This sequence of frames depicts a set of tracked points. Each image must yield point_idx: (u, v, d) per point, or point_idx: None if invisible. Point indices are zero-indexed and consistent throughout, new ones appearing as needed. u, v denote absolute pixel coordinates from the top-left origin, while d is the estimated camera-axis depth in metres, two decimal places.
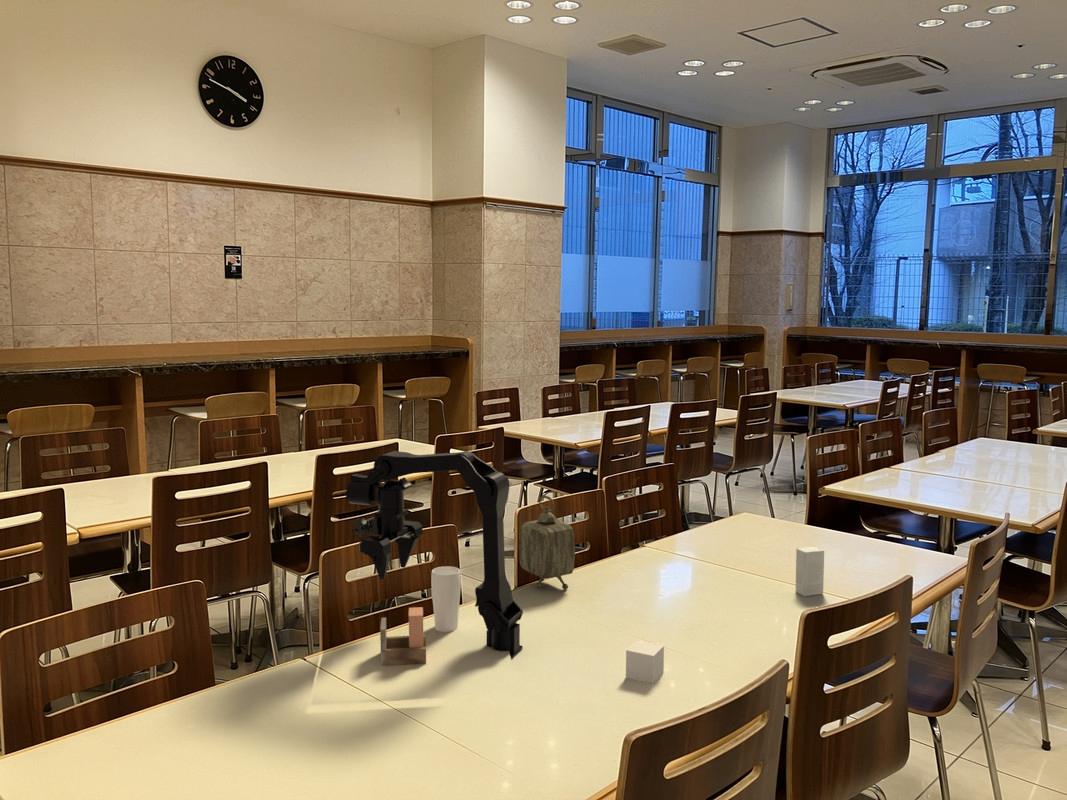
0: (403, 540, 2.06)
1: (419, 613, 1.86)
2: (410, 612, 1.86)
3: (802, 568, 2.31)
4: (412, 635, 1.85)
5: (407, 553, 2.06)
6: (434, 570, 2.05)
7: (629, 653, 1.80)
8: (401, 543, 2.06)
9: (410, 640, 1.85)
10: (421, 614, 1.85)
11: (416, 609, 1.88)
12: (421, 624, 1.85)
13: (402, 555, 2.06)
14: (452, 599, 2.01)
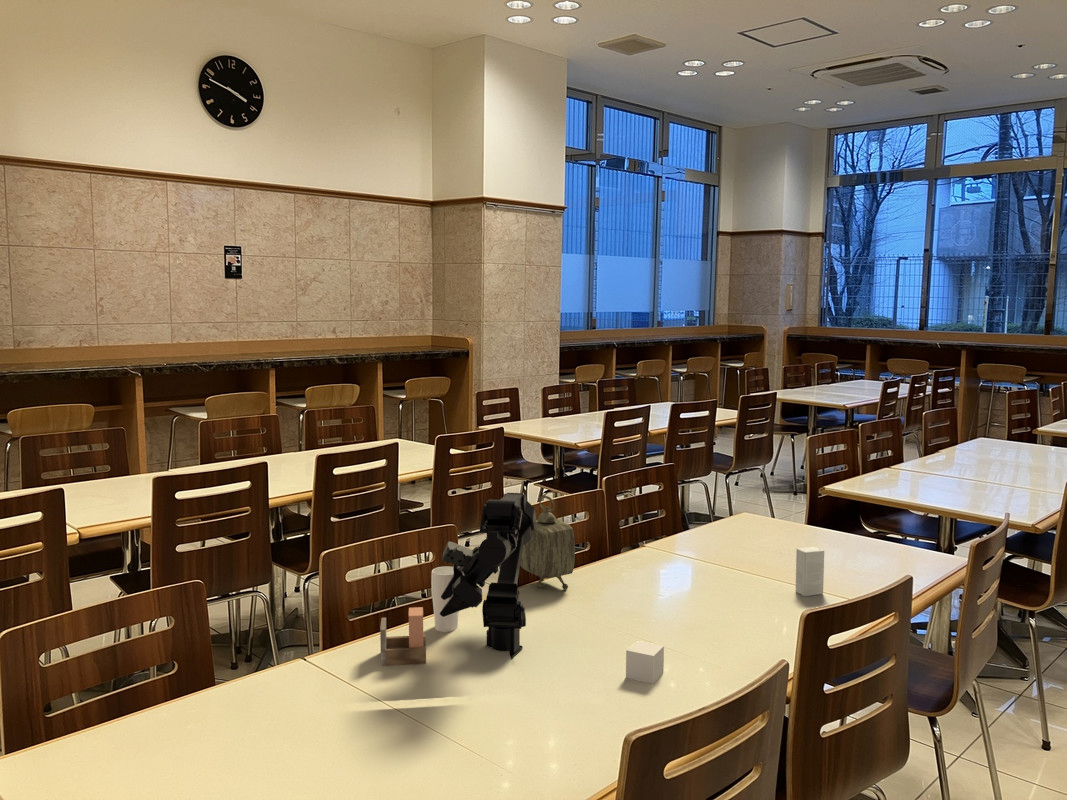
0: None
1: (419, 613, 1.86)
2: (410, 612, 1.86)
3: (802, 568, 2.31)
4: (412, 635, 1.85)
5: None
6: (434, 570, 2.05)
7: (629, 653, 1.80)
8: (458, 578, 1.93)
9: (410, 640, 1.85)
10: (421, 614, 1.85)
11: (416, 609, 1.88)
12: (421, 624, 1.85)
13: (450, 589, 1.93)
14: None
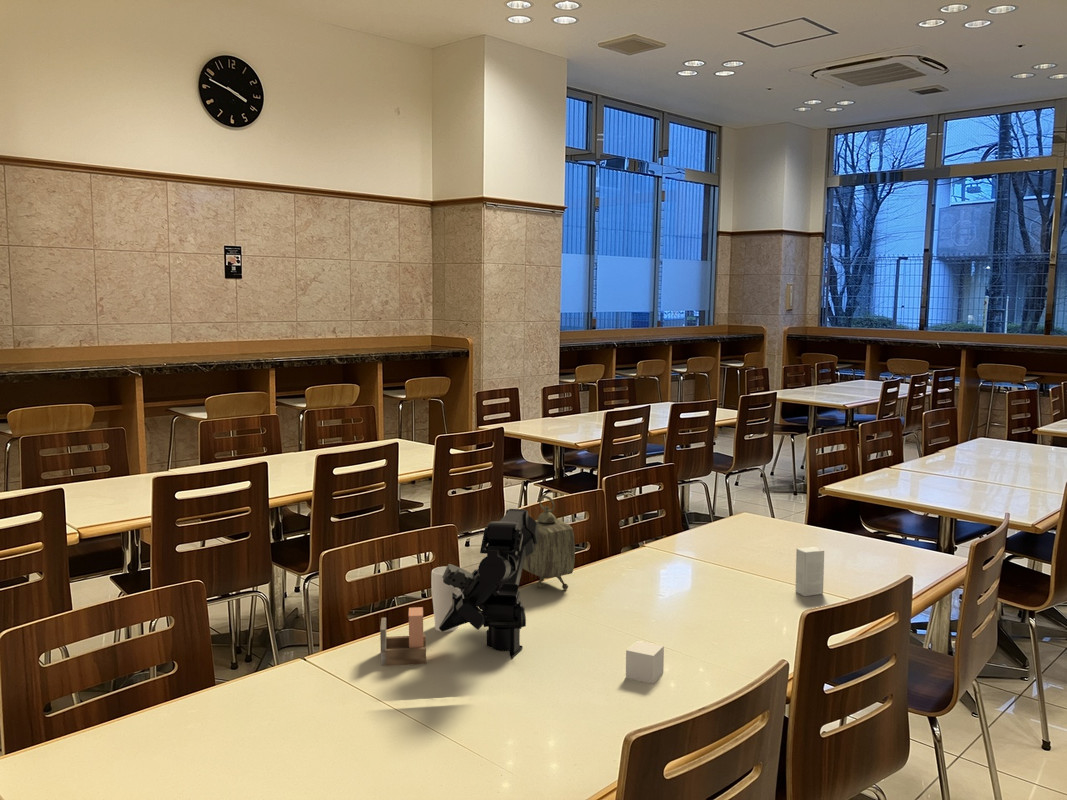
0: None
1: (419, 613, 1.86)
2: (410, 612, 1.86)
3: (802, 568, 2.31)
4: (412, 635, 1.85)
5: None
6: (434, 570, 2.05)
7: (629, 653, 1.80)
8: None
9: (410, 640, 1.85)
10: (421, 614, 1.85)
11: (416, 609, 1.88)
12: (421, 624, 1.85)
13: None
14: None
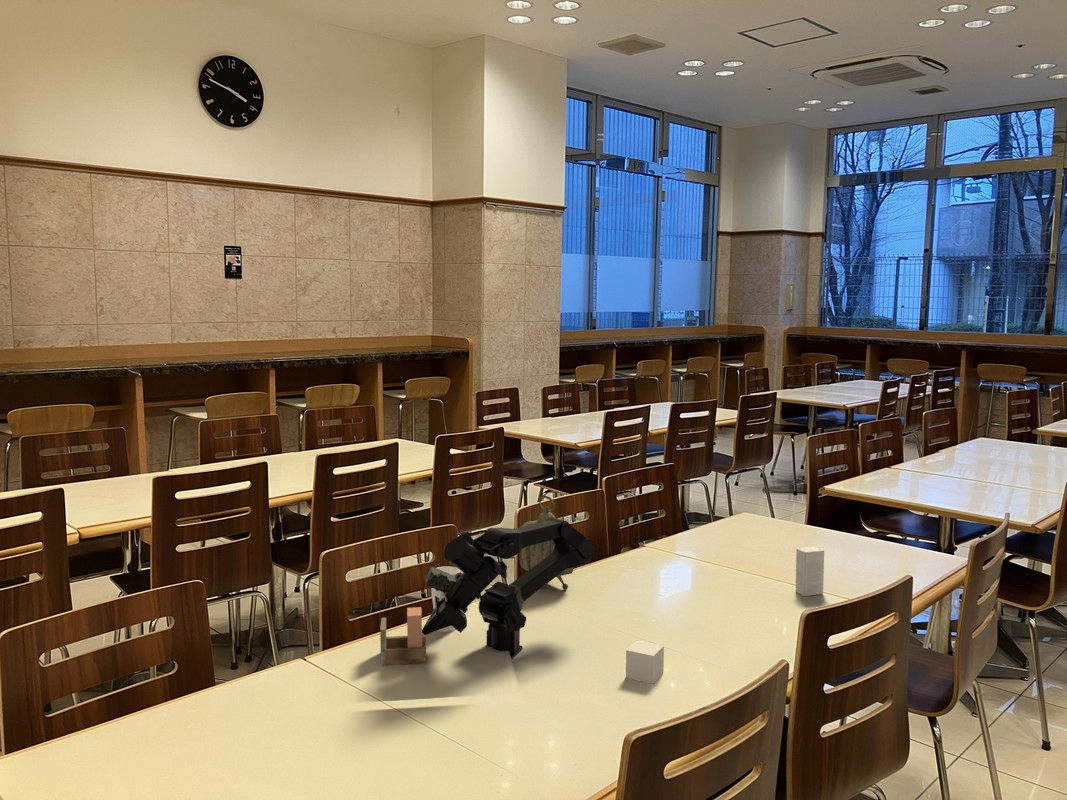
0: None
1: (417, 613, 1.86)
2: (408, 612, 1.86)
3: (802, 568, 2.31)
4: (410, 635, 1.85)
5: None
6: None
7: (629, 653, 1.80)
8: None
9: (409, 640, 1.85)
10: (419, 614, 1.85)
11: (415, 609, 1.88)
12: (419, 624, 1.85)
13: None
14: None
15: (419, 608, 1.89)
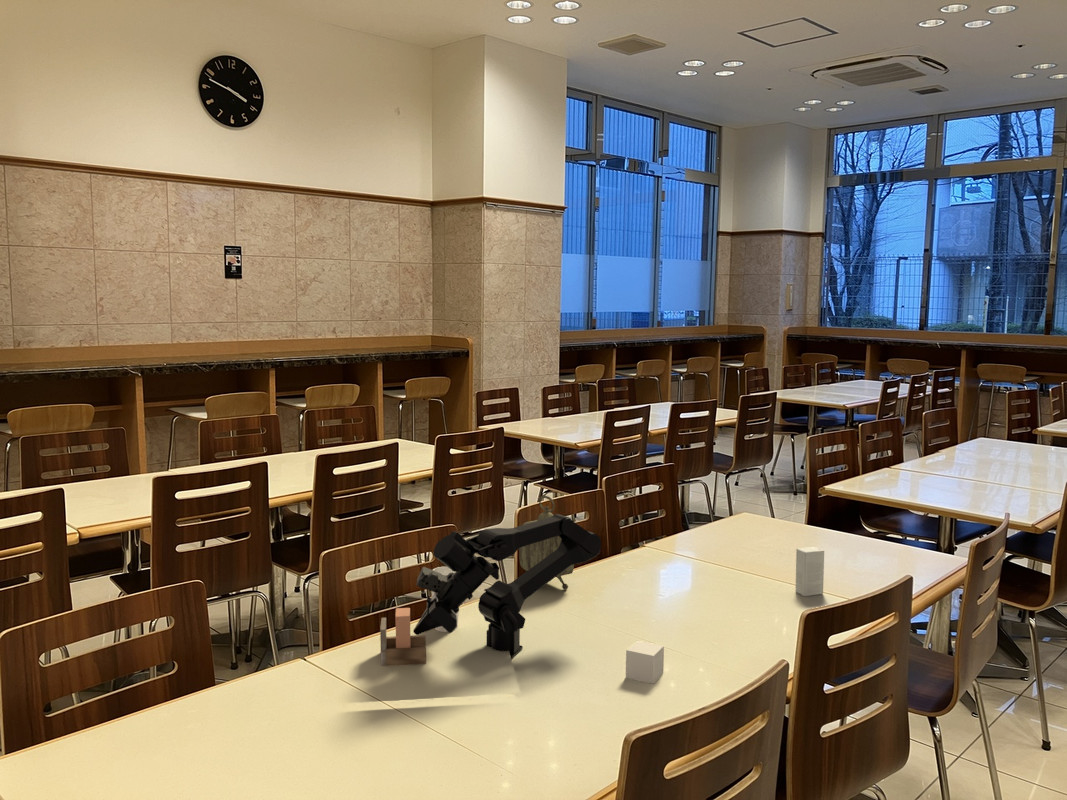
0: None
1: (405, 614, 1.85)
2: (397, 613, 1.86)
3: (802, 568, 2.31)
4: (399, 635, 1.84)
5: None
6: (434, 570, 2.05)
7: (629, 653, 1.80)
8: None
9: (397, 641, 1.84)
10: (408, 615, 1.85)
11: (403, 610, 1.88)
12: (408, 625, 1.84)
13: None
14: None
15: (408, 609, 1.88)
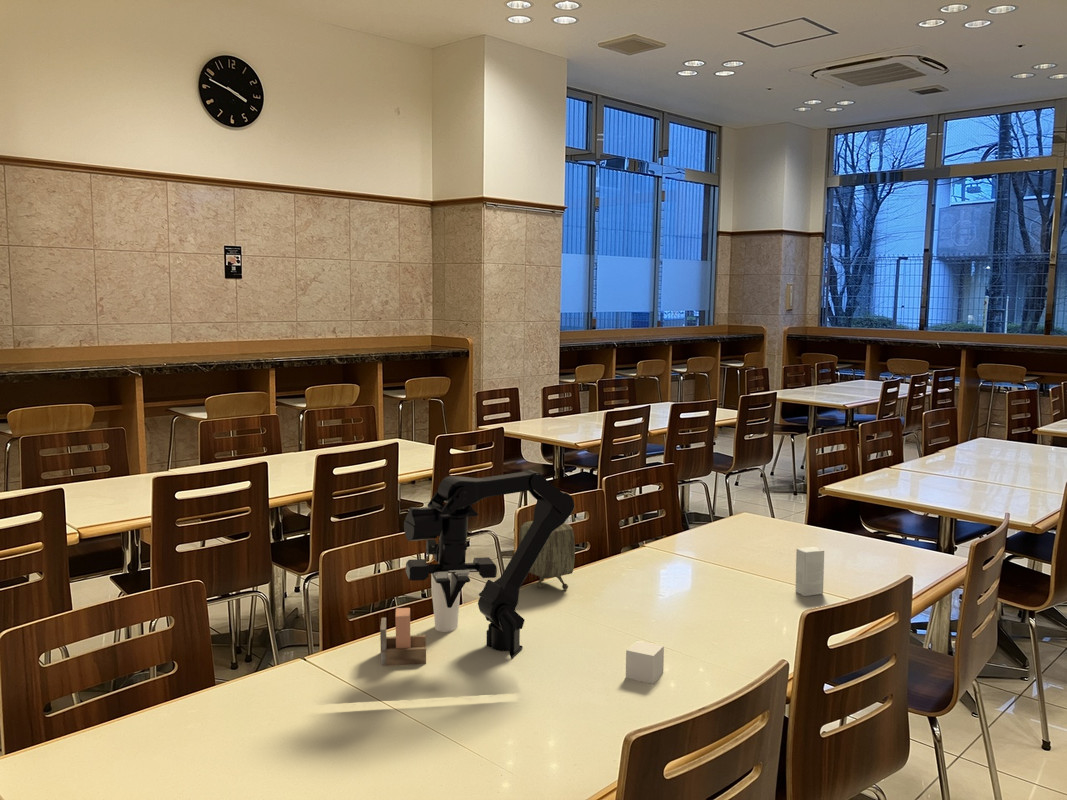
0: (453, 578, 1.87)
1: (405, 614, 1.85)
2: (397, 613, 1.86)
3: (802, 568, 2.31)
4: (399, 635, 1.84)
5: (452, 593, 1.86)
6: None
7: (629, 653, 1.80)
8: (452, 581, 1.87)
9: (397, 641, 1.84)
10: (408, 615, 1.85)
11: (403, 610, 1.88)
12: (408, 625, 1.84)
13: (451, 594, 1.87)
14: None
15: (408, 609, 1.88)
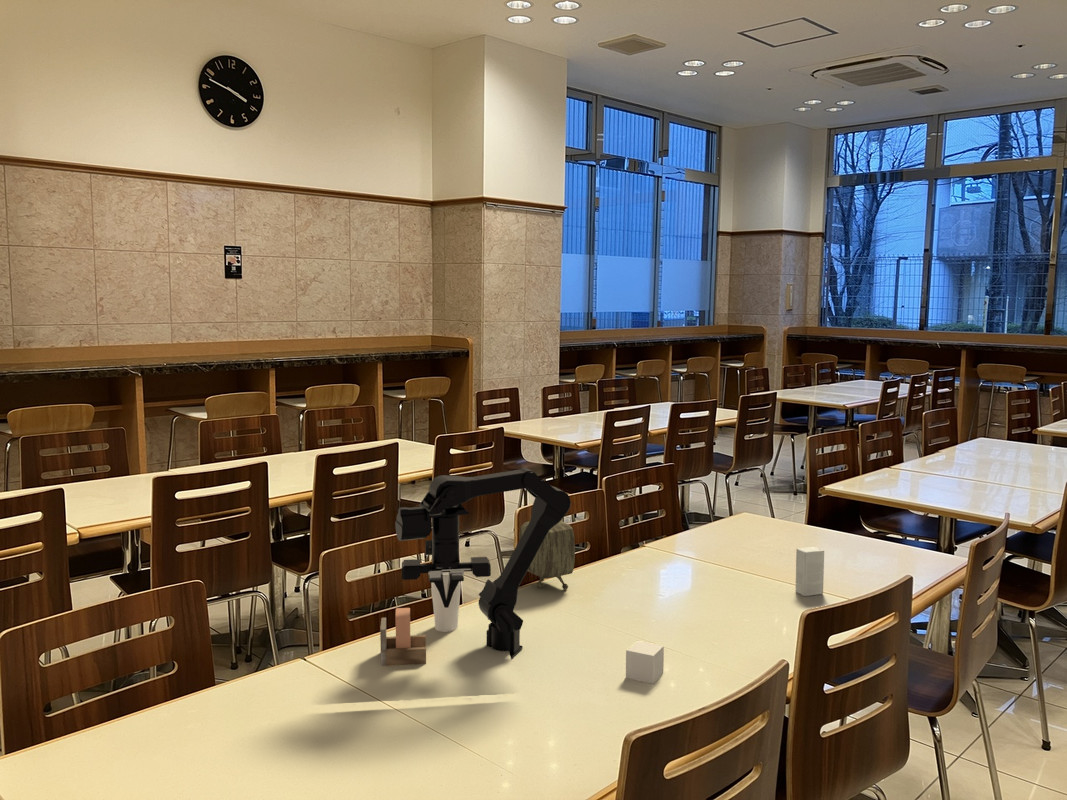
0: (449, 578, 1.87)
1: (405, 614, 1.85)
2: (397, 613, 1.86)
3: (802, 568, 2.31)
4: (399, 635, 1.84)
5: (447, 593, 1.86)
6: None
7: (629, 653, 1.80)
8: (448, 580, 1.88)
9: (397, 641, 1.84)
10: (408, 615, 1.85)
11: (403, 610, 1.88)
12: (408, 625, 1.84)
13: None
14: (452, 599, 2.01)
15: (408, 609, 1.88)
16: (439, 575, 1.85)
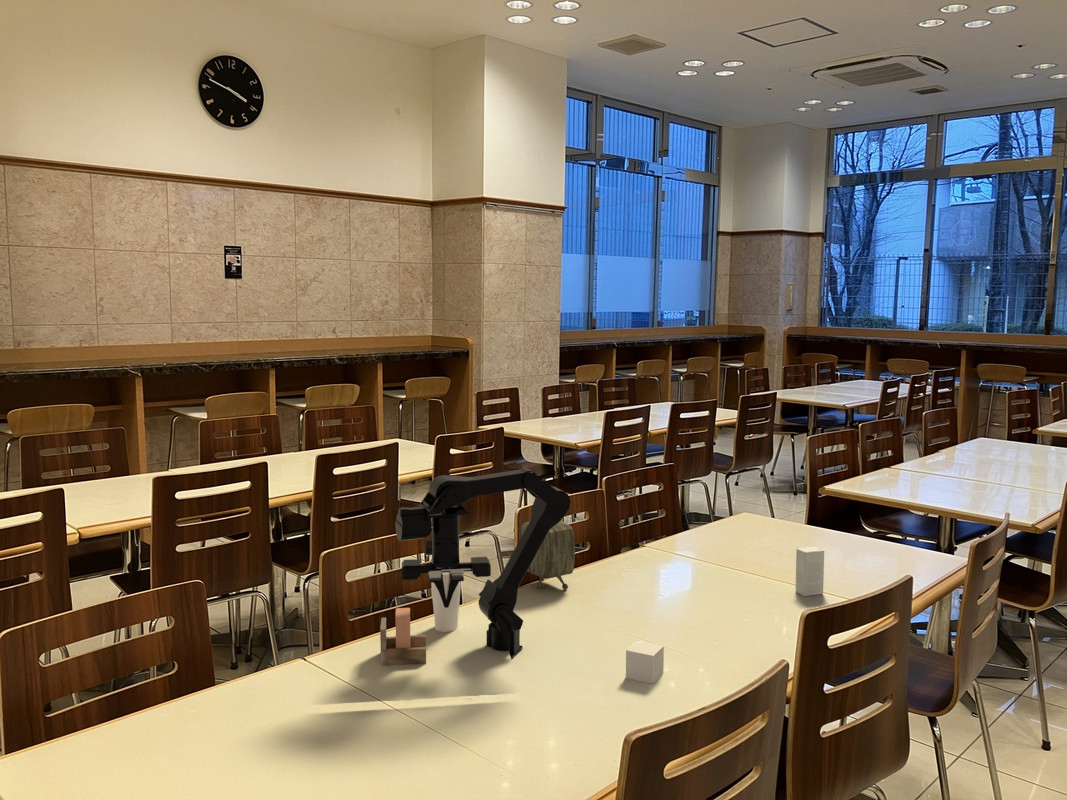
0: (449, 578, 1.87)
1: (405, 614, 1.85)
2: (397, 613, 1.86)
3: (802, 568, 2.31)
4: (399, 635, 1.84)
5: (447, 593, 1.86)
6: None
7: (629, 653, 1.80)
8: (448, 580, 1.88)
9: (397, 641, 1.84)
10: (408, 615, 1.85)
11: (403, 610, 1.88)
12: (408, 625, 1.84)
13: None
14: (452, 599, 2.01)
15: (408, 609, 1.88)
16: (439, 575, 1.85)
